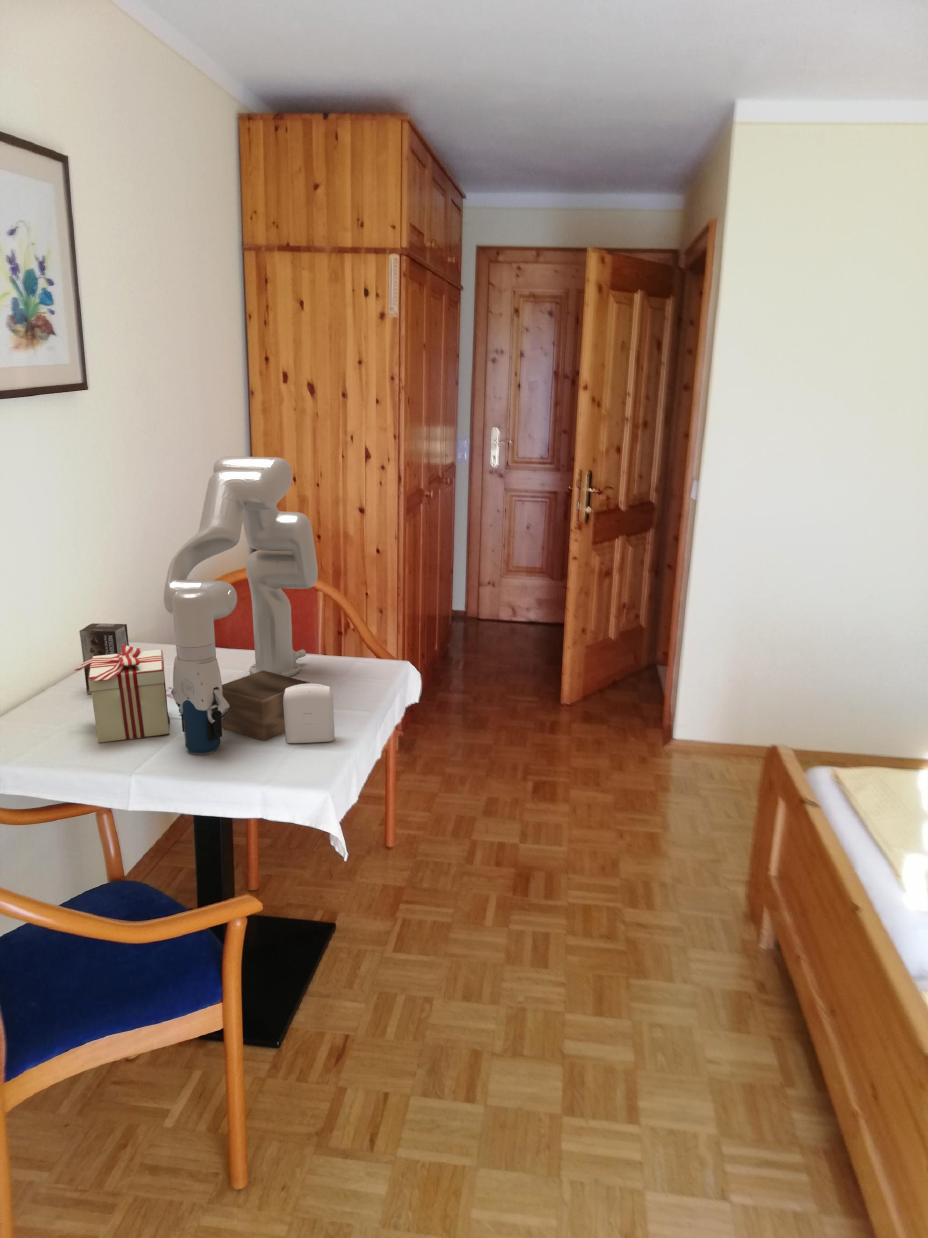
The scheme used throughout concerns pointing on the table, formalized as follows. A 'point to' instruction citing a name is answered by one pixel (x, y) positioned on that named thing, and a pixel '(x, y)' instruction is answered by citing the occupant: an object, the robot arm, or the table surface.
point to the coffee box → (102, 642)
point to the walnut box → (257, 704)
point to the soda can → (197, 730)
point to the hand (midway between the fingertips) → (202, 734)
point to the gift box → (128, 694)
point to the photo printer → (308, 713)
